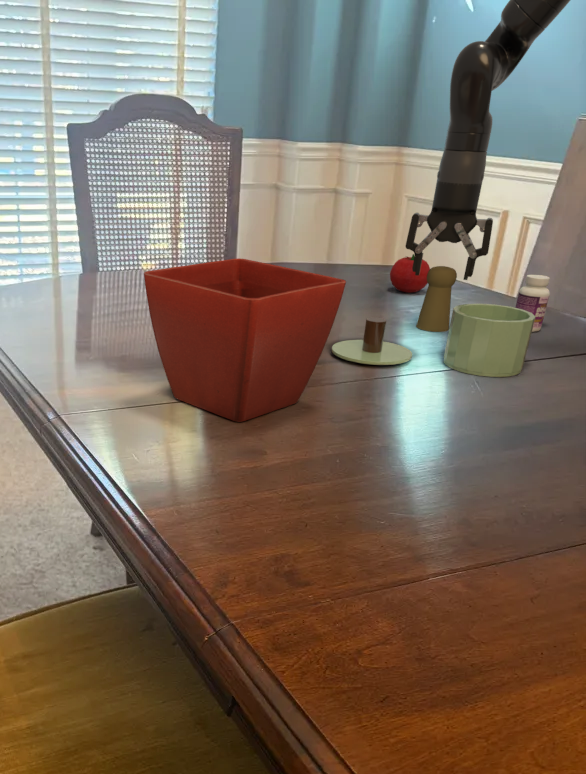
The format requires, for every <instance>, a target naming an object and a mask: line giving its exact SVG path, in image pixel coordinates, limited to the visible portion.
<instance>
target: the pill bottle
mask: <svg viewBox="0 0 586 774" xmlns="http://www.w3.org/2000/svg"><path fill="white" fill-rule="evenodd" d="M550 280H551V278H550V277H549V276H547V275H541V274H527V275H526V278H525V285H523V286H521V288H520V289H519V291H518V294H517V298H516V303H515V307H514V308H519V309H523V310H526V311H528V312H531V313H532V314H533V315H534V316H535V321H534V325H533V329H532V333H536V332H537V333H538V332H539V331H541V329H542V326H543V323H544V318H545V315H546V311H547V307H548V303H549V300H550V295H551V292H550V290H549V288H547V287H549V284H550Z"/></svg>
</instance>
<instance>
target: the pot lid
mask: <svg viewBox="0 0 586 774" xmlns="http://www.w3.org/2000/svg"><path fill="white" fill-rule="evenodd" d="M364 325H365V326H364V332H363V339H348V340H342V341H338V342H336V343H334V344H333V345H332V346H331V352H332V354H333V355H335V356H336V357H337V358H340V359H342V360H345V361H349V362H353V363H358V364H362V365H370V366H390V365H391V366H392V365H400V364H404V363H407V362H409V361H410V360H412V358H413V352H412V351H411V350H410V349H408V348H407V347H405V346H403V345H401V344H400V345H399V344H396V343H393V342H388V341H384V340H385V339H384V338H385V333H386V326H387V319H385V318H382V317H377V316H376V317H375V316H374V317H373V316H372V317H367V318H366V319H365V324H364Z"/></svg>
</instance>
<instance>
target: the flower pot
mask: <svg viewBox="0 0 586 774" xmlns="http://www.w3.org/2000/svg"><path fill="white" fill-rule="evenodd" d="M143 279H144V288H145V294H146V299H147V306H148V311H149V312H148V313H149V317H150V321H151V327H152V331H153V336H154V340H155V343H156V346H157V351H158V354H159V357H160V361H161V365H162V367H163V371H164V374H165V376H166V379H167V383H168V385H169V388H170V390H171V393H172V395H173V397H174V398H175V399H177V400H179V401H181V402H183V403H184V402H185V403H187V404H189V405H192V406H194V407H197V408H200V409H202V410H204V411H207V412H209V413H212V414H215V415H217V416H219V417H222V418H225V419H227V420H230V421H233V422H237V423H239V422H240V423H241V422H245V421H249V420H251V419H255V418H257V417H261V416H263V415H266V414H268V413H272V412H274V411H278V410H280V409H284V408H286V407H289V406H292V405H295V404H297V403H298V402H299V400H300V399H301V397H302V395H303V393H304V391H305V390H306V386H307V385H308V383H309V381H310V380H311V377H312V375H313V373H314V372H315V369H316V367H317V364H318V362H319V360H320V358H321V355H322V353H323V351H324V349H325V346H326V344H327V341H328V338H329V336H330V333H331V331H332V328H333V325H334V322H335V319H336V317H337V313H338V311H339V308H340V305H341V302H342V299H343V296H344V291H345V288H346V283H347V281H346V279H343V278H338V277H333V276H328V275H323V274H319V273H314V272H310V271H305V270H300V269H295V268H292V267H291V268H290V267H286V266H280V265H277V264H271V263H268V262H267V263H266V262H262V261H257V260H252V259H247V258H229V259H222V260H221V259H220V260H215V261H208V262H201V263H195V264H187V265H180V266H174V267H166V268H160V269H152V270H147V271H144V272H143Z"/></svg>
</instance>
